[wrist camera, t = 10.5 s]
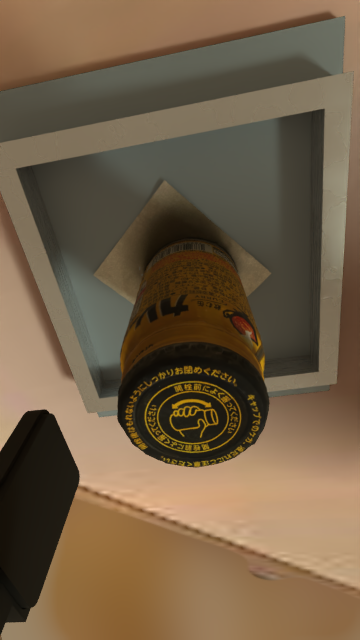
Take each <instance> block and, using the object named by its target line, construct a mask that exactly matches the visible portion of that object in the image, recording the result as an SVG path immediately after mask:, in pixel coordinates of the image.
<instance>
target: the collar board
mask: <svg viewBox="0 0 360 640" xmlns="http://www.w3.org/2000/svg"><path fill="white" fill-rule="evenodd" d="M344 33H345V16H343V17H338V18H334V19H329V20H325V21H320V22H316V23H311V24H306V25H302V26H297V27H293V28H288V29H283V30H279V31H274V32H270V33H265V34H261V35H256V36H251V37H247V38H242V39H238V40H233V41H229V42H224V43H219V44H215V45H210V46H206V47H201V48H197V49H192V50H187V51H183V52H178V53H174V54H169V55H164V56H160V57H155V58H151V59H146V60H142V61H137V62H132V63H128V64H123V65H119V66H114V67H110V68H105V69H100V70H96V71H91V72H87V73H82V74H78V75H73V76H68V77H64V78H59V79H55V80H50V81H45V82H41V83H36V84H32V85H27V86H23V87H18V88H13V89H9V90H4V91H0V192H1V194H2V197H3V200H4V202H5V205H6V207H7V210H8V212H9V215H10V217H11V220H12V222H13V225H14V227H15V230H16V232H17V235H18V238H19V240H20V243H21V245H22V248H23V250H24V253H25V255H26V258H27V260H28V263H29V265H30V268H31V270H32V273H33V276H34V278H35V281H36V283H37V286H38V288H39V291H40V293H41V296H42V298H43V301H44V303H45V306H46V308H47V311H48V314H49V316H50V319H51V321H52V324H53V326H54V329H55V331H56V334H57V336H58V339H59V341H60V344H61V347H62V349H63V352H64V354H65V357H66V359H67V362H68V364H69V367H70V369H71V372H72V374H73V377H74V379H75V382H76V385H77V387H78V390H79V392H80V395H81V397H82V400H83V402H84V405H85V407H86V410H87V412H88V413H94V412H97V413H98V416H99V417H105V416H114V415H117V412H118V408H117V405H118V390H119V387H120V385H121V378H122V371H121V367H120V352H121V347H122V343H123V340H124V336H125V333H126V330H127V327H128V324H129V320H130V317H131V313H132V311H133V307H134V304H132V303H131V302H130V301H128V300H127V299H126V298H124V297H123V296H121V295H119V294H118V293H117V292H116V291H115V290H113V289H112V288H110V287H109V286H107V285H106V284H104V283H103V282H102V281H100V280H99V279H98V278H96V277H95V276H94V274H95V272H96V271H97V270H98V268H99V267H100V266H101V264H102V263H103V262H104V260H105V259H106V258H107V256H108V255H109V254H110V252H111V251H112V250H113V248H114V247H115V246H116V244H117V243H118V242H119V240H120V239H121V238H122V236H123V235H124V234H125V232H126V231H127V230H128V228H129V227H130V226H131V224H132V223H133V222H134V220H135V219H136V217H137V216H138V215H139V214H140V212H141V211H142V210H143V208H144V207H145V206H146V204H147V203H148V202H149V200H150V199H151V198H152V196H153V195H154V194H155V192H156V191H157V190H158V188H159V187H160V186H161V184H162V183H163V182H164V180H165V181H166V182H167V183H168V184H169V185H171V186H172V187H173V188H174V189H175V190H176V191H177V192H178V193H180V194H181V195H182V196H183V197H184V198H186V199H187V200H188V201H189V202H190V203H192V204H193V205H194V206H195V207H196V208H197V209H198V210H200V211H201V212H202V213H203V214H204V215H205V216H206V217H207V218H208V219H209V220H211V221H212V222H213V223H214V224H215V225H217V226H218V227H219V228H220V229H221V230H222V231H224V232H225V233H226V234H227V235H228V236H230V237H231V238H232V239H233V240H234V241H235V242H236V243H238V244H239V245H240V246H241V247H242V248H243V249H244V250H245V251H246V252H248V253H249V254H250V255H251V256H252V257H254V258H255V259H256V260H257V261H258V262H259V263H260V264H261V265H263V266H264V267H265V268H266V269H267V270H268V271H269V272H271V274H270V275H269V276H268V277H267V278H266V279H265V280H264V281H263V282H262V283H261V284H260V285H259V286H258V287H257V288H256V289H255V290H254V291H253V292H252V293H251V294H250V295H249V296H247V299H248V302H249V305H250V308H251V311H252V314H253V317H254V319H255V323H256V326H257V328H258V331H259V333H260V336H261V340H262V344H263V347H264V353H265V364H264V371H263V374H264V382H265V385H266V387H267V392H268V396H269V397H277V396H285V395H294V394H302V393H311V392H319V391H328V390H329V387H330V385H331V384H337V369H338V351H339V333H340V314H341V296H342V278H343V259H344V241H345V223H346V204H347V186H348V168H349V149H350V131H351V112H352V94H353V76H354V71H352V72H347V73H343V56H344ZM139 270H140V267H139ZM141 276H143V274H141Z"/></svg>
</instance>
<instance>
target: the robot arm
mask: <svg viewBox="0 0 360 640" xmlns="http://www.w3.org/2000/svg"><path fill="white" fill-rule="evenodd" d="M79 477H80V475H79V470H78V468H77V466H76V464H75V461H74V459H73V457H72V454H71V452H70V450H69V448H68V445H67V443H66V441H65V439H64V436H63V434H62V432H61V430H60V427H59V425H58V423H57V421H56V418H55V416H54V415H53V414H50V413H49V412H48V411H47V410H35V411H27V412H26V413H25V414H24V415H23V417H22V418H21V420H20V421H19V423H18V425H17V426H16V428H15V429H14V431H13V432H12V434H11V436H10V437H9V439H8V440H7V442H6V443H5V445H4V447H3V448H2V450H1V451H0V640H2V638H1V633H2V630H3V627H4V625H5V623H6V622H26V619H27V616H28V614H29V611H30V608H31V607H34V606H35V605H36V603H37V601H38V599H39V596H40V593H41V590H42V588H43V585H44V582H45V579H46V576H47V573H48V570H49V567H50V564H51V562H52V559H53V556H54V553H55V550H56V547H57V544H58V541H59V539H60V536H61V533H62V530H63V527H64V524H65V521H66V518H67V516H68V513H69V510H70V507H71V504H72V501H73V498H74V495H75V492H76V490H77V487H78V484H79Z"/></svg>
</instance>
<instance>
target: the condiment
mask: <svg viewBox="0 0 360 640" xmlns="http://www.w3.org/2000/svg"><path fill="white" fill-rule="evenodd" d="M139 267H140V270H139ZM141 274H143V276H141ZM270 274H271V272H269V271H268V270H267V269H266V268H265V267H264V266H263V265H261V264H260V263H259V262H258V261H257V260H256V259H255V258H254V257H252V256H251V255H250V254H249V253H248V252H246V251H245V250H244V249H243V248H242V247H241V246H240V245H239V244H238V243H236V242H235V241H234V240H233V239H232V238H231V237H230V236H228V235H227V234H226V233H225V232H224V231H222V230H221V229H220V228H219V227H218V226H217V225H215V224H214V223H213V222H212V221H211V220H209V219H208V218H207V217H206V216H205V215H204V214H203V213H202V212H201V211H200V210H198V209H197V208H196V207H195V206H194V205H193V204H192V203H190V202H189V201H188V200H187V199H186V198H184V197H183V196H182V195H181V194H180V193H178V192H177V191H176V190H175V189H174V188H173V187H172V186H171V185H169V184H168V183H167V182H166V181H165V180H164V182H163V183H162V184H161V186H160V187H159V188H158V190H157V191H156V192H155V194H154V195H153V196H152V198H151V199H150V200H149V202H148V203H147V204H146V206H145V207H144V208H143V210H142V211H141V212H140V214H139V215H138V216H137V217H136V219H135V220H134V222H133V223H132V224H131V226H130V227H129V228H128V230H127V231H126V232H125V234H124V235H123V236H122V238H121V239H120V240H119V242H118V243H117V244H116V246H115V247H114V248H113V250H112V251H111V252H110V254H109V255H108V256H107V258H106V259H105V260H104V262H103V263H102V264H101V266H100V267H99V268H98V270H97V271H96V272H95V274H94V276H95V277H96V278H98V279H99V280H100V281H102V282H103V283H104V284H106V285H107V286H109V287H110V288H112V289H113V290H115V291H116V292H117V293H118V294H119V295H121V296H123V297H124V298H126V299H127V300H128V301H130V302H131V303H132V304H134V307H133V311H132V313H131V317H130V320H129V324H128V327H127V330H126V333H125V336H124V340H123V343H122V347H121V352H120V367H121V371H122V378H121V385H120V387H119V390H118V405H117V408H118V412H117V417H118V422H119V423H120V425H121V427H122V428H123V429H124V431H125V433H126V435H127V436H128V437H129V439H130V440H131V442H132V444H133V445H134V446H136V447H138V448H139V449H140V450H141V451H143V452H144V453H145V454H147V455H149V456H151V457H153V458H156V459H157V460H160V461H163V462H165V463H168V464H174V465H179V466H186V467H202V466H209V465H214V464H219V463H221V462H224V461H227V460H230V459H232V458H235V457H236V456H237V455H239V454H240V453H242V452H243V451H245V450H246V449H247V448H248V447H250V446H251V445H253V444H255V442H256V441H257V439H258V437H259V435H260V434H261V432H262V431H263V429H264V426H265V423H266V420H267V415H268V411H269V396H268V392H267V387H266V385H265V382H264V374H263V371H264V364H265V353H264V347H263V344H262V340H261V336H260V333H259V331H258V328H257V326H256V323H255V319H254V317H253V314H252V311H251V308H250V305H249V302H248V299H247V296H249V295H250V294H251V293H252V292H253V291H254V290H255V289H256V288H257V287H258V286H259V285H260V284H261V283H262V282H263V281H264V280H265V279H266V278H267V277H268V276H269V275H270Z"/></svg>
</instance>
